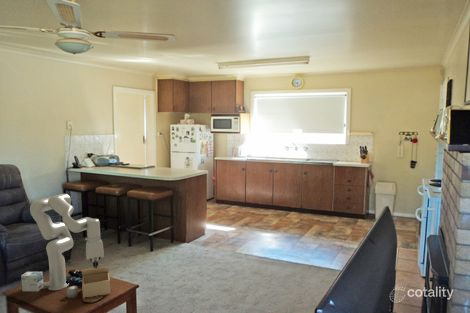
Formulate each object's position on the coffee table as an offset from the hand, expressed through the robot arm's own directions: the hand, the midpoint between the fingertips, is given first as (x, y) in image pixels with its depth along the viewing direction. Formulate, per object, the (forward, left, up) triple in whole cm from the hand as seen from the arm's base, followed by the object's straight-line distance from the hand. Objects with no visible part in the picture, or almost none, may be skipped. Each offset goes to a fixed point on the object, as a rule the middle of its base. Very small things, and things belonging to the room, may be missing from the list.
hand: (95, 267), depth 226 cm
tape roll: (-14, +4, -18) cm, 23 cm away
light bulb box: (-39, +24, -18) cm, 49 cm away
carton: (0, +4, -17) cm, 18 cm away
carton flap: (0, +5, -5) cm, 7 cm away
